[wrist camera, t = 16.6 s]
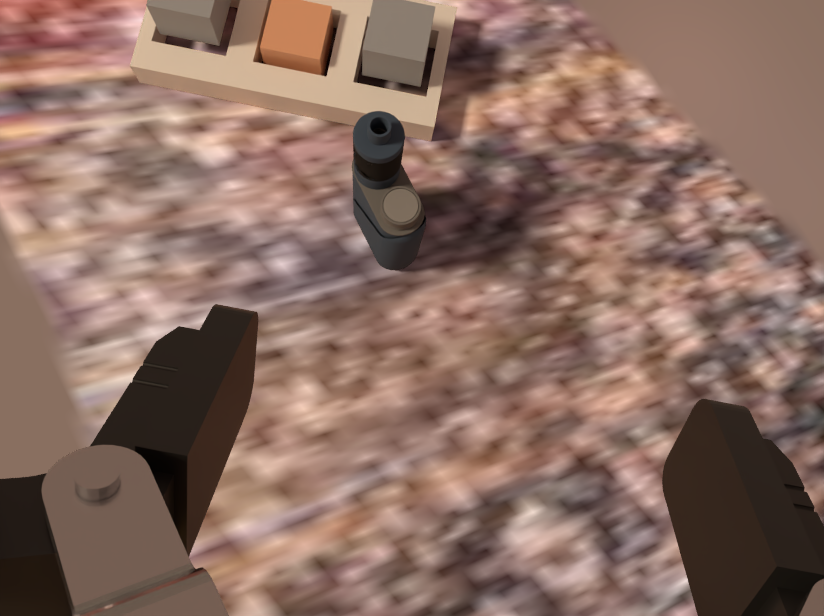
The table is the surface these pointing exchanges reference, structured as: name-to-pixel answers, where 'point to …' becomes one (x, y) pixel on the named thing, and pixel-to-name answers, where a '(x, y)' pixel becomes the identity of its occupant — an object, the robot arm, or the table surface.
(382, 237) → the vaping device
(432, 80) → the keypad base
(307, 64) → the key mid
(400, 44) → the key right
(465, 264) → the table surface
